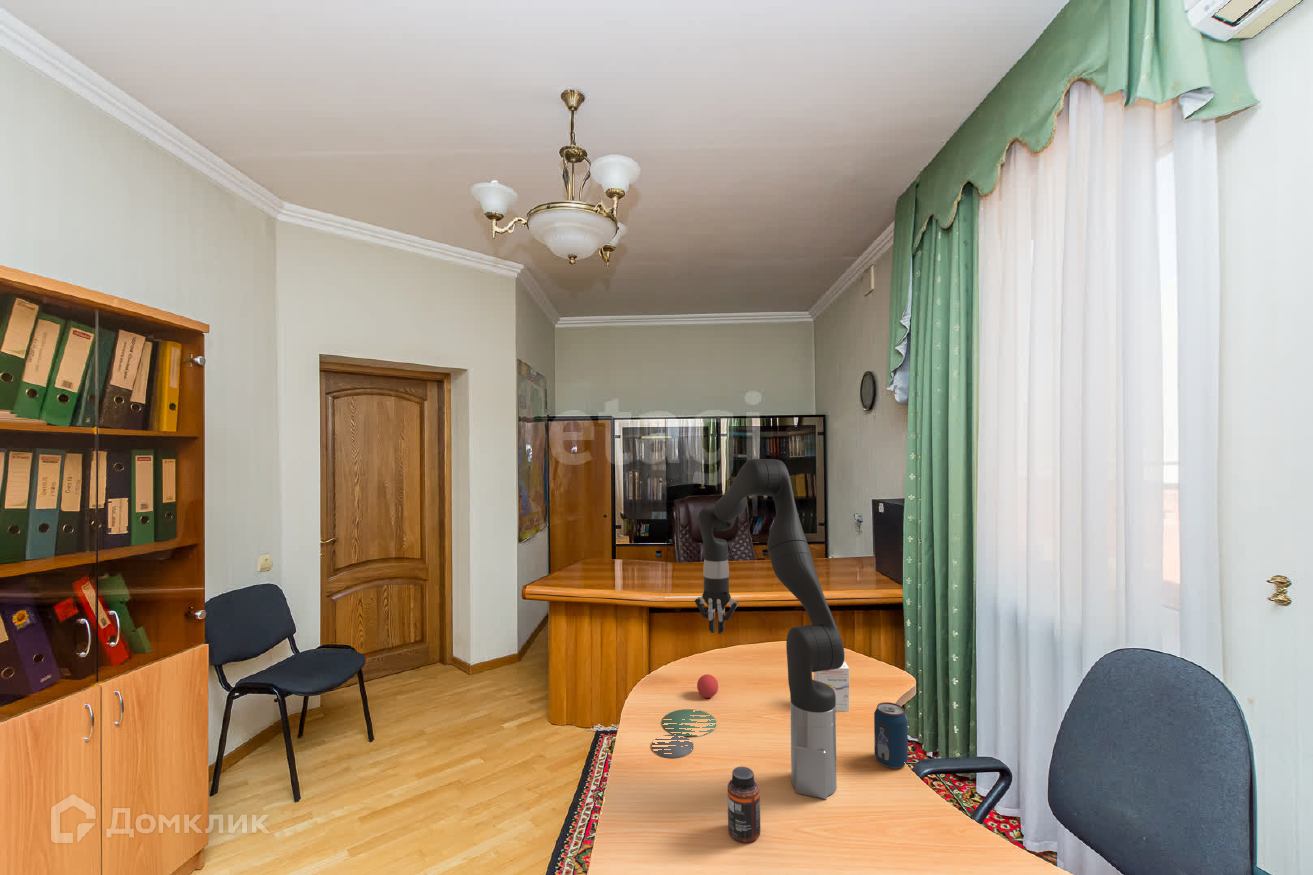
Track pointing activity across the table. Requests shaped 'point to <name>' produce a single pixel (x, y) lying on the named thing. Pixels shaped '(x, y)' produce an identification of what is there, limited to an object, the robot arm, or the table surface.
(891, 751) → the soda can
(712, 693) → the ball
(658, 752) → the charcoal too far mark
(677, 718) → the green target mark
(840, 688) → the ink cartridge box
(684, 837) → the table surface
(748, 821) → the supplement bottle
